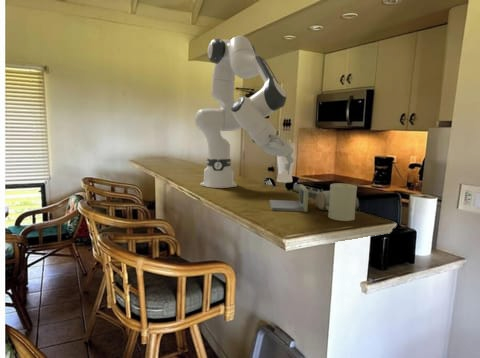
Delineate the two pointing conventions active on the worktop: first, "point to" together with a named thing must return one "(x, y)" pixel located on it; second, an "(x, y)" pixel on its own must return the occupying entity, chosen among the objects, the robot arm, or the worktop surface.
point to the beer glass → (285, 167)
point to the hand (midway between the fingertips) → (287, 161)
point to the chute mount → (292, 202)
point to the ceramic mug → (323, 200)
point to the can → (342, 202)
